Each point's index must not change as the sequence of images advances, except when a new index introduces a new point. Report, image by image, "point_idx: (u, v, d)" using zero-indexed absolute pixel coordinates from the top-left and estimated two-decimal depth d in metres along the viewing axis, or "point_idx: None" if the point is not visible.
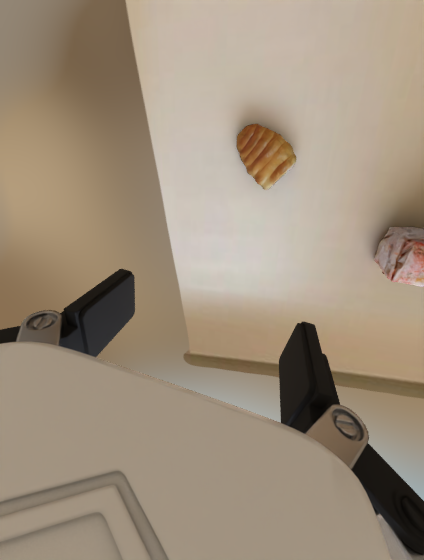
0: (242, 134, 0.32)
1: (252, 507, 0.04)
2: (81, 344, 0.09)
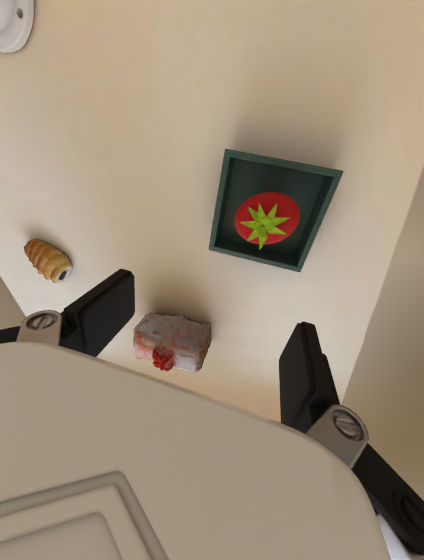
0: (25, 247, 0.42)
1: (252, 507, 0.04)
2: (81, 344, 0.09)
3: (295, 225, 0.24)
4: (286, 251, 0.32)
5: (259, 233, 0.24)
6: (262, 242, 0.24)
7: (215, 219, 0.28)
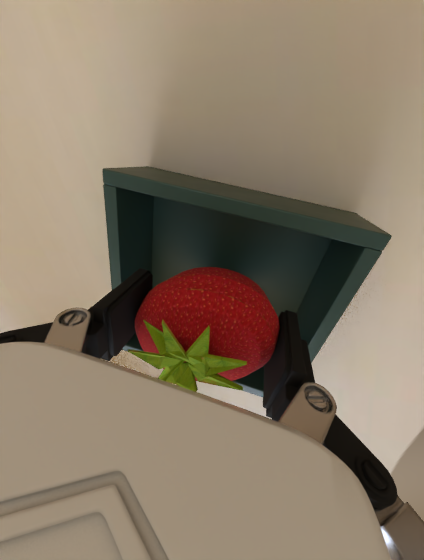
0: None
1: (252, 507, 0.04)
2: (106, 340, 0.10)
3: (266, 358, 0.10)
4: None
5: (177, 379, 0.10)
6: None
7: None
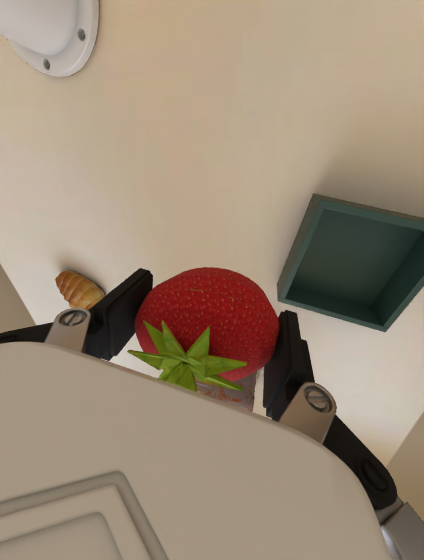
0: (57, 279, 0.38)
1: (252, 507, 0.04)
2: (106, 340, 0.10)
3: (266, 359, 0.10)
4: (361, 302, 0.28)
5: (177, 379, 0.10)
6: None
7: (292, 271, 0.25)
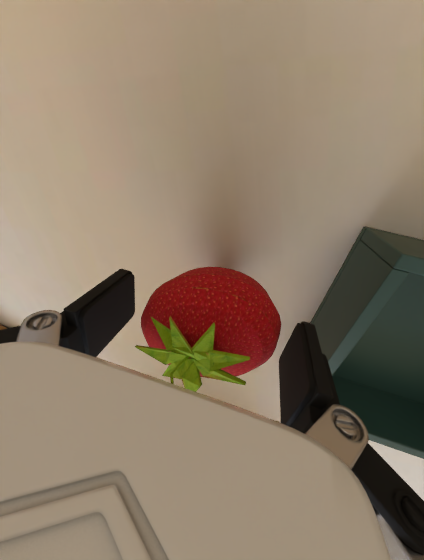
0: None
1: (252, 507, 0.04)
2: (81, 344, 0.09)
3: (268, 355, 0.10)
4: None
5: (182, 374, 0.10)
6: (192, 389, 0.10)
7: None
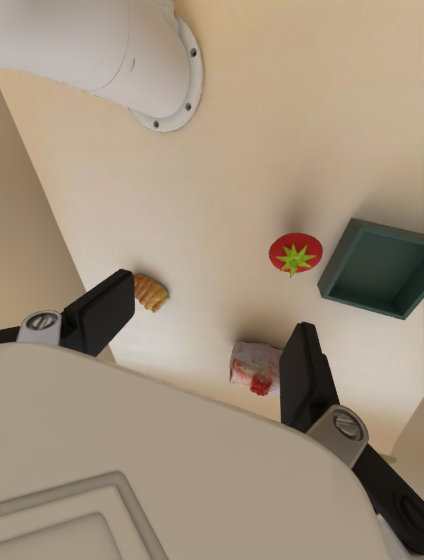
0: None
1: (252, 507, 0.04)
2: (81, 344, 0.09)
3: (319, 260, 0.31)
4: (384, 298, 0.37)
5: (291, 265, 0.30)
6: (292, 272, 0.31)
7: (336, 275, 0.33)
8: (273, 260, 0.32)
